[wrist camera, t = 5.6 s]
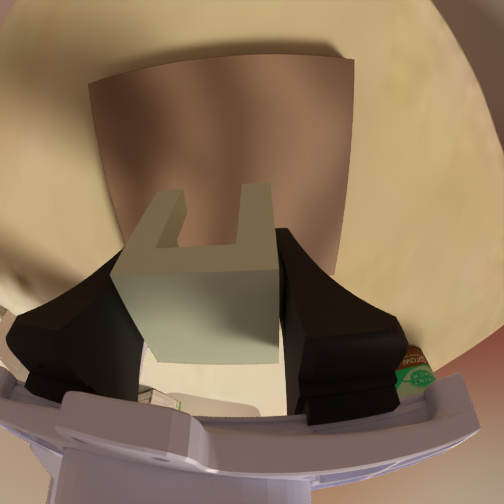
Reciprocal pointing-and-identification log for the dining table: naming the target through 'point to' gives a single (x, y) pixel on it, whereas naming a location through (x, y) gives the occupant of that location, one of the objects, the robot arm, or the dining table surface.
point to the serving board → (232, 143)
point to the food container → (413, 373)
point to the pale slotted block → (204, 285)
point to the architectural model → (3, 351)
